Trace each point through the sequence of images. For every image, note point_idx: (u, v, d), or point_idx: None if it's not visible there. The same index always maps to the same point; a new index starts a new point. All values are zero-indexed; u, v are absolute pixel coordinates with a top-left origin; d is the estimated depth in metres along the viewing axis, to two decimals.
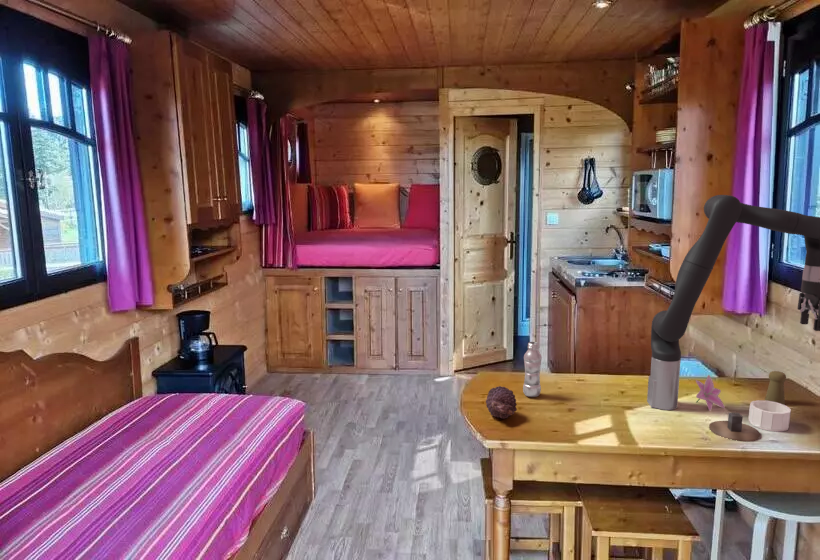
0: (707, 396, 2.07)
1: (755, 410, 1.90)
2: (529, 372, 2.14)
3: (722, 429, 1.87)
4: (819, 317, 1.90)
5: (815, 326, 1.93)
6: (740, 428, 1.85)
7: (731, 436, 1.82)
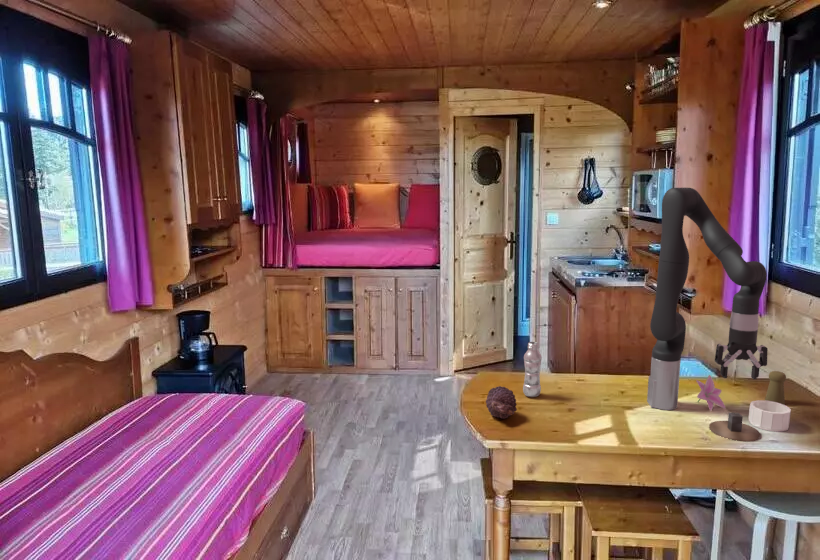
0: (708, 396, 2.07)
1: (755, 410, 1.90)
2: (529, 372, 2.14)
3: (722, 429, 1.87)
4: (766, 364, 1.81)
5: (756, 375, 1.82)
6: (740, 428, 1.85)
7: (731, 436, 1.82)
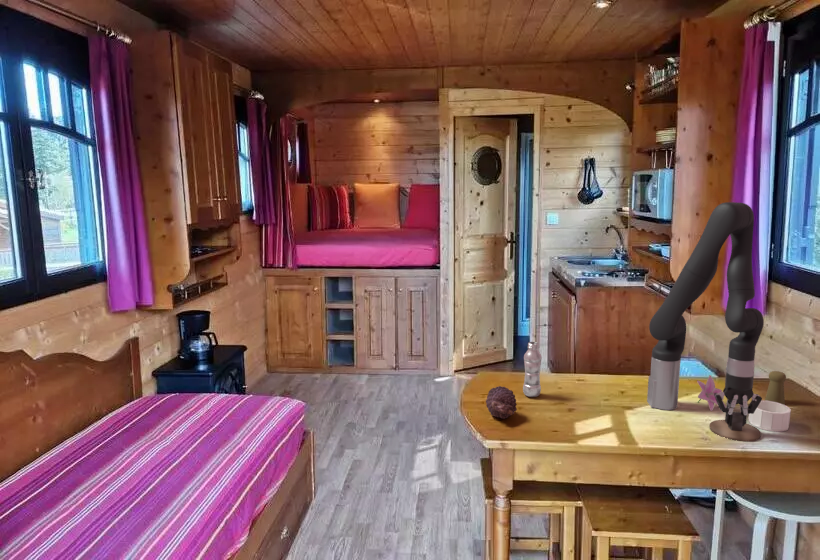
0: (708, 396, 2.07)
1: (755, 410, 1.90)
2: (529, 372, 2.14)
3: (723, 428, 1.87)
4: (753, 412, 1.84)
5: (744, 422, 1.85)
6: (741, 427, 1.85)
7: (732, 435, 1.82)
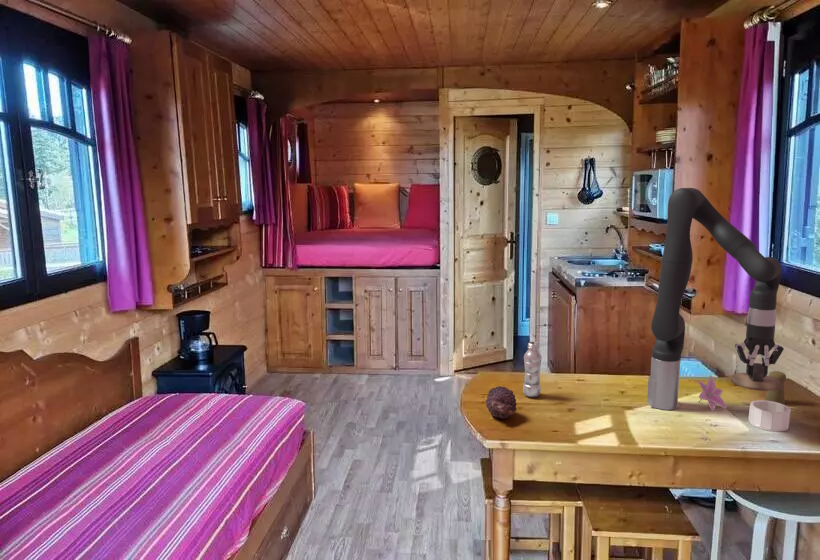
0: (709, 396, 2.07)
1: (755, 410, 1.90)
2: (529, 372, 2.14)
3: (744, 379, 1.86)
4: (774, 363, 1.83)
5: (765, 373, 1.84)
6: (762, 378, 1.84)
7: (753, 385, 1.81)
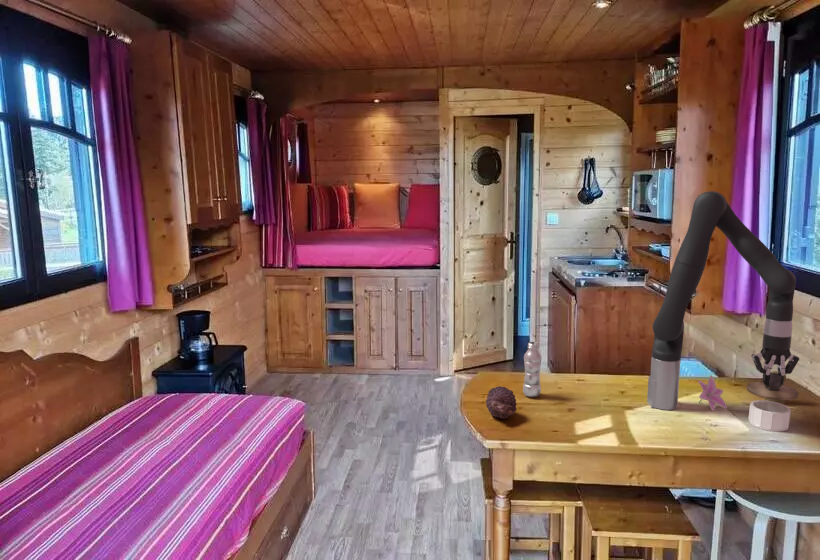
0: (710, 396, 2.07)
1: (755, 410, 1.90)
2: (529, 372, 2.14)
3: (760, 389, 1.90)
4: (790, 372, 1.87)
5: None
6: (778, 387, 1.88)
7: (770, 394, 1.85)
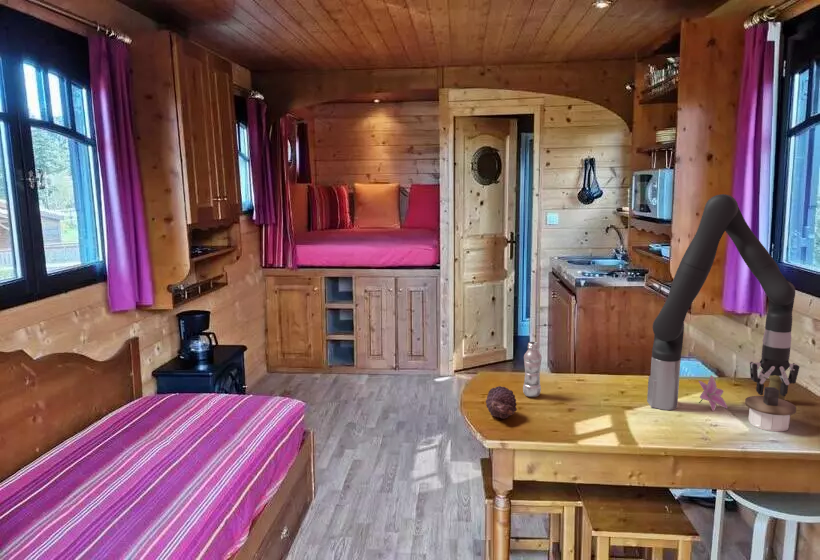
0: (710, 396, 2.07)
1: (755, 410, 1.90)
2: (529, 372, 2.14)
3: (758, 403, 1.91)
4: (794, 382, 1.87)
5: None
6: (776, 402, 1.89)
7: (768, 409, 1.86)
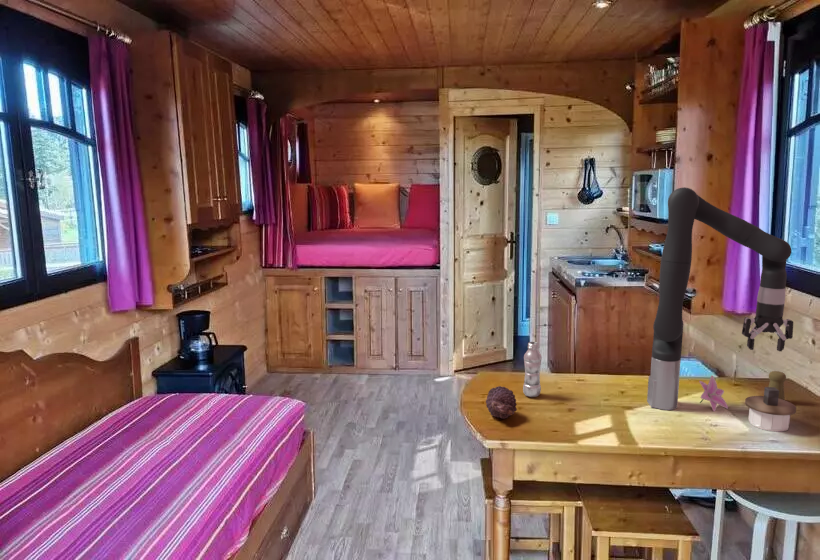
0: (711, 397, 2.07)
1: (755, 410, 1.90)
2: (529, 372, 2.14)
3: (758, 403, 1.91)
4: (791, 337, 1.90)
5: (782, 347, 1.91)
6: (776, 402, 1.89)
7: (768, 409, 1.86)
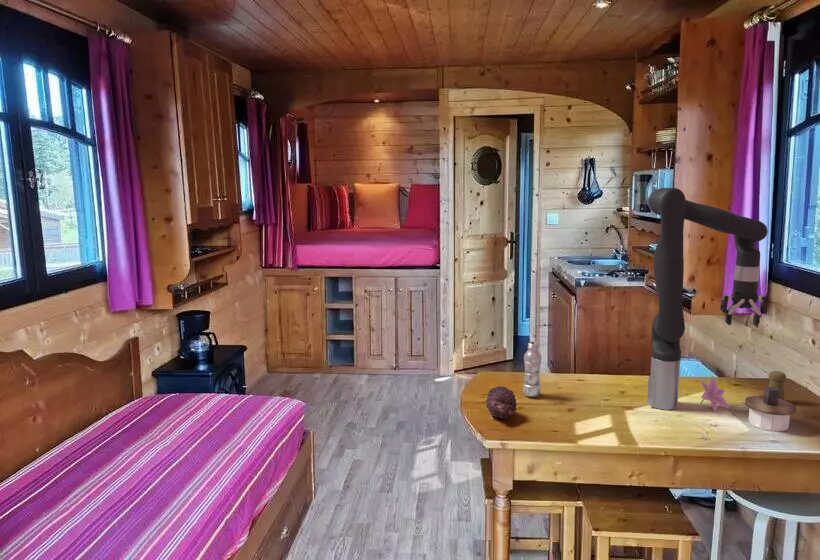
0: (711, 397, 2.07)
1: (755, 410, 1.90)
2: (529, 372, 2.14)
3: (758, 403, 1.91)
4: (766, 312, 2.03)
5: (757, 321, 2.04)
6: (776, 402, 1.89)
7: (768, 409, 1.86)
